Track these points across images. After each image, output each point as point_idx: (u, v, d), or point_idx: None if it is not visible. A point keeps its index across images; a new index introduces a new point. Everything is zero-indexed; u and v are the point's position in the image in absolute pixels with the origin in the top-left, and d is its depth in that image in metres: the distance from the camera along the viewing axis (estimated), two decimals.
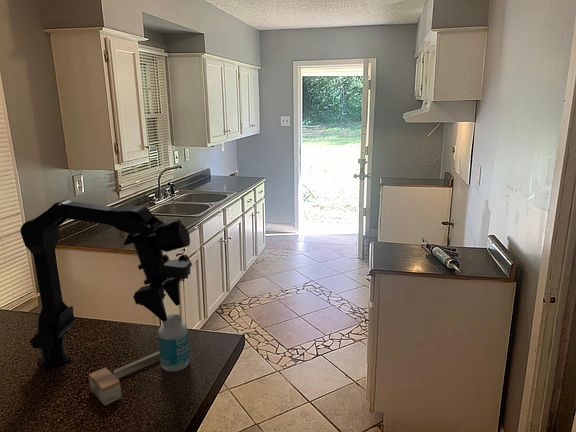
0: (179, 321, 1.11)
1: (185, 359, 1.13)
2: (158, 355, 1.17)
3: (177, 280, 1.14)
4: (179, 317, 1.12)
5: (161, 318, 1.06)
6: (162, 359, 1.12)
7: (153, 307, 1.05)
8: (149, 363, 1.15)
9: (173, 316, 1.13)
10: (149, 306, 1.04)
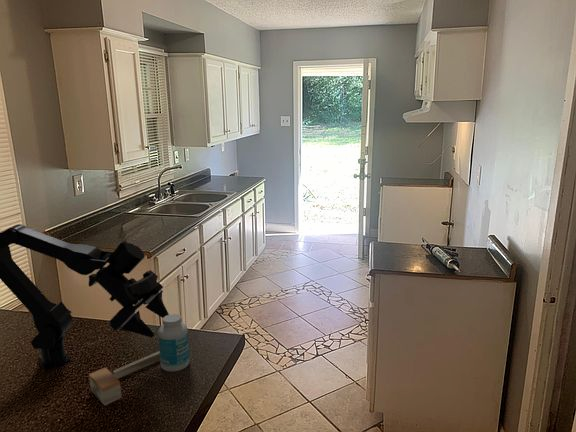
0: (179, 321, 1.11)
1: (185, 359, 1.13)
2: (158, 355, 1.17)
3: (157, 297, 1.17)
4: (179, 317, 1.12)
5: (148, 335, 1.08)
6: (162, 359, 1.12)
7: (135, 328, 1.08)
8: (149, 363, 1.15)
9: (173, 316, 1.13)
10: (131, 328, 1.07)
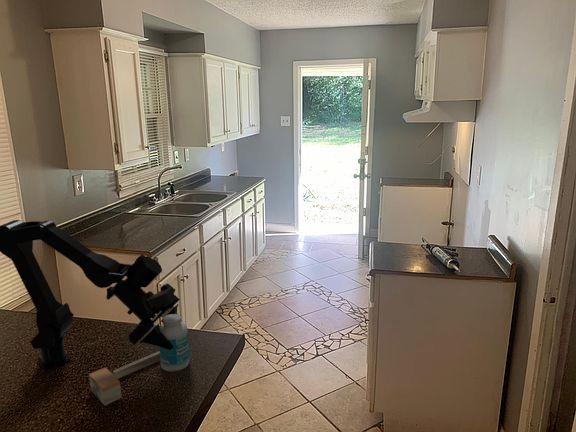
0: (179, 321, 1.11)
1: (185, 359, 1.13)
2: (158, 355, 1.17)
3: (172, 311, 1.17)
4: (179, 317, 1.12)
5: (167, 347, 1.09)
6: (162, 359, 1.12)
7: (154, 340, 1.08)
8: (149, 363, 1.15)
9: (173, 316, 1.13)
10: (150, 341, 1.08)
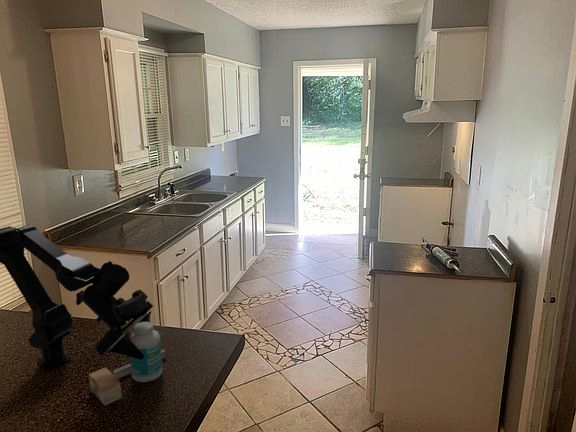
0: (151, 329, 1.06)
1: (157, 369, 1.08)
2: None
3: (145, 318, 1.11)
4: (151, 325, 1.07)
5: (137, 357, 1.04)
6: (132, 369, 1.06)
7: (124, 350, 1.03)
8: None
9: (145, 324, 1.08)
10: (119, 350, 1.03)
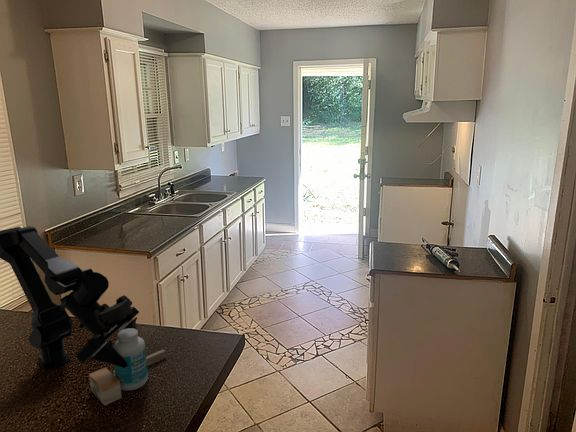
0: (135, 336, 1.03)
1: (142, 377, 1.05)
2: (158, 355, 1.17)
3: (130, 325, 1.09)
4: (135, 332, 1.04)
5: (121, 365, 1.01)
6: (116, 377, 1.04)
7: (107, 358, 1.00)
8: (149, 363, 1.15)
9: (129, 331, 1.05)
10: (102, 358, 1.00)
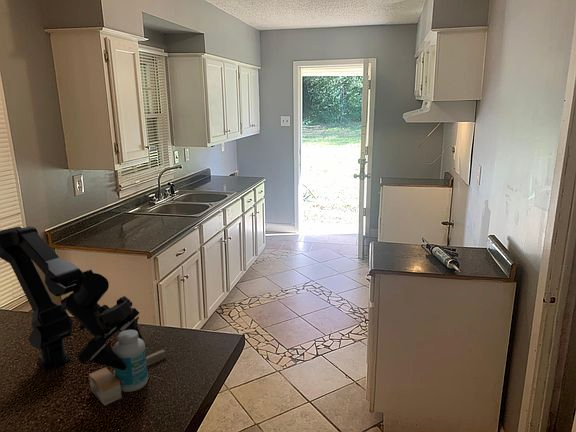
0: (135, 338, 1.03)
1: (142, 378, 1.05)
2: (158, 355, 1.17)
3: (132, 324, 1.09)
4: (135, 333, 1.04)
5: (120, 368, 1.00)
6: (117, 378, 1.04)
7: (106, 360, 1.00)
8: (149, 363, 1.15)
9: (129, 332, 1.05)
10: (101, 361, 0.99)
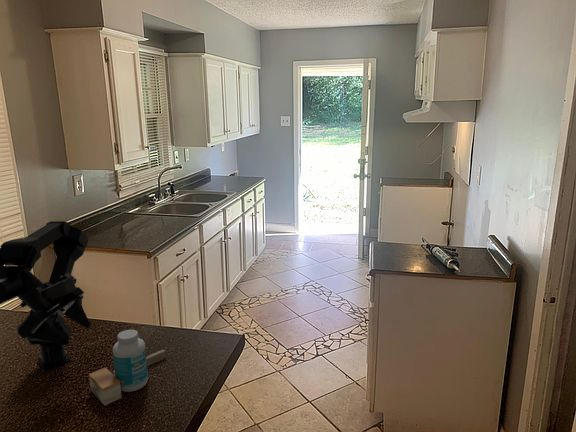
0: (135, 338, 1.03)
1: (142, 378, 1.05)
2: (158, 355, 1.17)
3: (76, 302, 1.09)
4: (135, 333, 1.04)
5: (62, 343, 1.00)
6: (117, 378, 1.04)
7: (47, 335, 0.99)
8: (149, 363, 1.15)
9: (129, 332, 1.05)
10: (42, 336, 0.98)
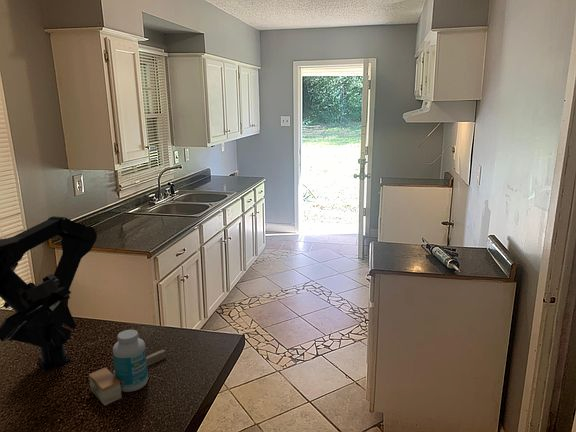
0: (135, 338, 1.03)
1: (142, 378, 1.05)
2: (158, 355, 1.17)
3: (61, 303, 1.07)
4: (135, 333, 1.04)
5: (42, 346, 0.98)
6: (117, 378, 1.04)
7: (27, 338, 0.97)
8: (149, 363, 1.15)
9: (129, 332, 1.05)
10: (22, 339, 0.97)
